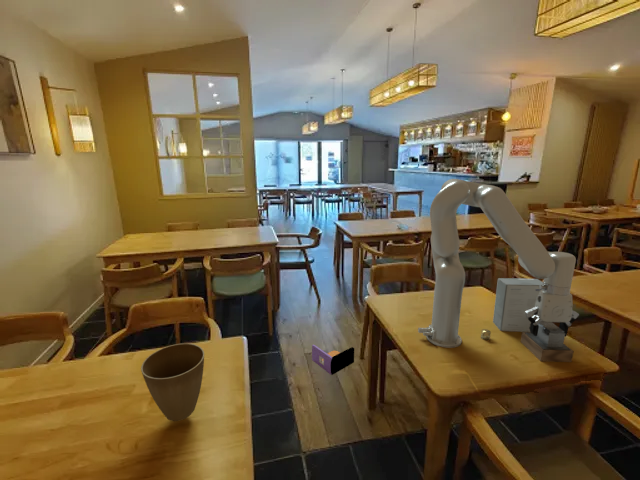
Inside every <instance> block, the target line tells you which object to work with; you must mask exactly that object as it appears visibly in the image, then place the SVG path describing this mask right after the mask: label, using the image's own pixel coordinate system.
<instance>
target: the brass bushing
mask: <svg viewBox="0 0 640 480" xmlns="http://www.w3.org/2000/svg"><path fill="white" fill-rule="evenodd" d="M491 333H492V332H491V331H490V330H489V329H485V328H483V329H481V334H480V339H482V340H483V341H490V340H491Z"/></svg>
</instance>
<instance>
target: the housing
mask: <svg viewBox="0 0 640 480" xmlns="http://www.w3.org/2000/svg"><path fill="white" fill-rule="evenodd" d="M536 320H537V319H536ZM536 320H535V321H536ZM537 325H538V326H539V329H538V334H537V336H534V335H533V334H532V333H531V334H532V335H533V336H534V337H536V338H537V339H538V340H539V341H540V342H541V343H542V344H544V345H545V346H546V347H547V348H563V343H565V342H564V341H565V333H564V331H563V330H562V329H560V328H559V326H558V325H556V324H555V322H543V321H541V322H540V323H539V324H537Z"/></svg>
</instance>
